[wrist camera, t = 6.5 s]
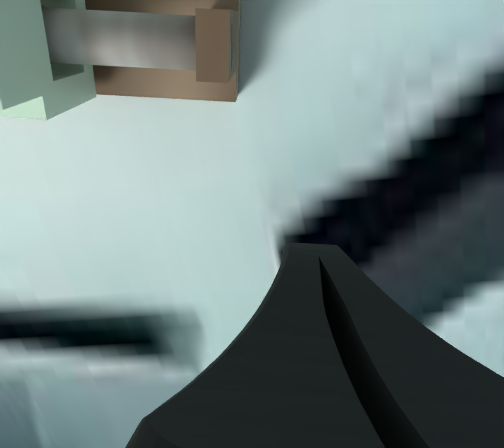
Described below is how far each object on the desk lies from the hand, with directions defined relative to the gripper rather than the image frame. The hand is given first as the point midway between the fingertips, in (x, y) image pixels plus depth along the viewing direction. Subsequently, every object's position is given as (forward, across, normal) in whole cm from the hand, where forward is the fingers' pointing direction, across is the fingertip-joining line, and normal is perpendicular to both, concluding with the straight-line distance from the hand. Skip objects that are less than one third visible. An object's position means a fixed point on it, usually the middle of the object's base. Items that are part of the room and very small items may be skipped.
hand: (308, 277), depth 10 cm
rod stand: (+9, +7, -5) cm, 13 cm away
